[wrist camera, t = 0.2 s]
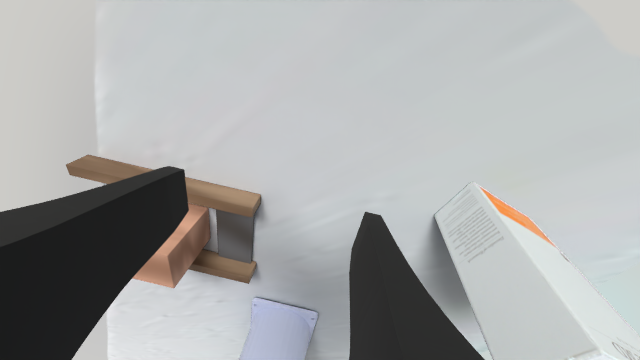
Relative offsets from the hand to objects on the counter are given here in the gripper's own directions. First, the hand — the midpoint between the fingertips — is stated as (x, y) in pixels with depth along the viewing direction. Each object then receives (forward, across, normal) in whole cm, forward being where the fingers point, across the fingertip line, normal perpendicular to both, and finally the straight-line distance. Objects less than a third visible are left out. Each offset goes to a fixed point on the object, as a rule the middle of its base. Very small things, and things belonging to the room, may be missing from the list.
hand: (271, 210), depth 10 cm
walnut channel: (+10, +11, +12) cm, 19 cm away
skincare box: (+10, -14, +4) cm, 18 cm away
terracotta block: (+10, +10, +12) cm, 19 cm away
